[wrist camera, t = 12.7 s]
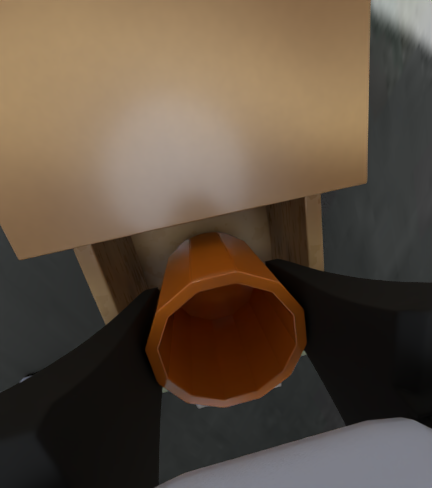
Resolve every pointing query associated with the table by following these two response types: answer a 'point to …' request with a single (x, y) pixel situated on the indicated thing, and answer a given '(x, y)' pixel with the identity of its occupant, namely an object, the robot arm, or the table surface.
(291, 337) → the orange cup
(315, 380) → the table surface
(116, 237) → the cabinet
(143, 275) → the drawer
